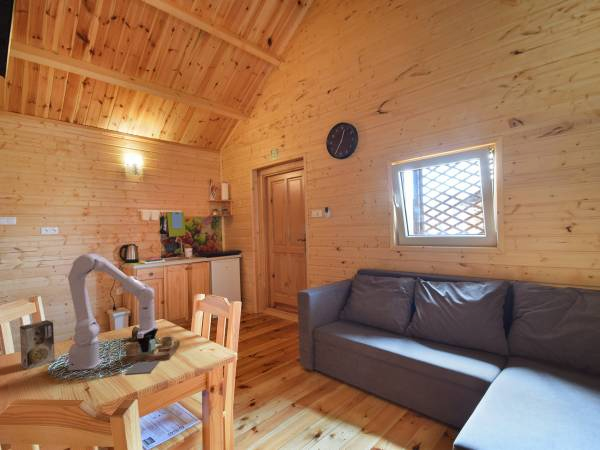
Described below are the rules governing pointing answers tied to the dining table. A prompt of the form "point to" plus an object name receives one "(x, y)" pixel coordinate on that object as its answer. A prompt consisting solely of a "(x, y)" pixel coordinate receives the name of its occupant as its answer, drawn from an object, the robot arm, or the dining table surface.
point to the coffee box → (37, 344)
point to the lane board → (161, 355)
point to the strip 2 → (166, 341)
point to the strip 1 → (136, 349)
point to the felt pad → (142, 368)
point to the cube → (151, 346)
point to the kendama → (134, 335)
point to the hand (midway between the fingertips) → (147, 349)
